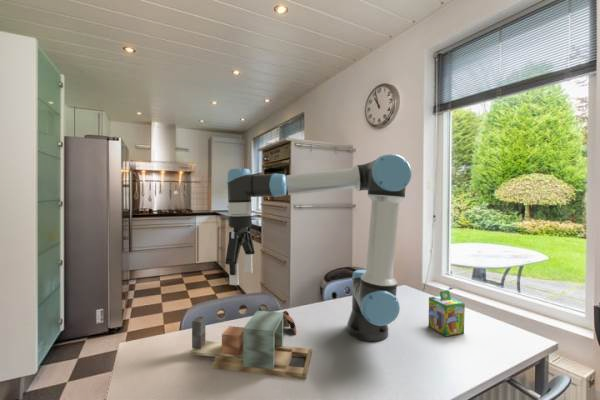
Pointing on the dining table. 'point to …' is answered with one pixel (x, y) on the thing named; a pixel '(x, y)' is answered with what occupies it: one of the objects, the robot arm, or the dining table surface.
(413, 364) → the dining table surface
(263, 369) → the tunnel deck
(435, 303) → the chalk box
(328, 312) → the dining table surface
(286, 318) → the pottery mug
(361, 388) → the dining table surface
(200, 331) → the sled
